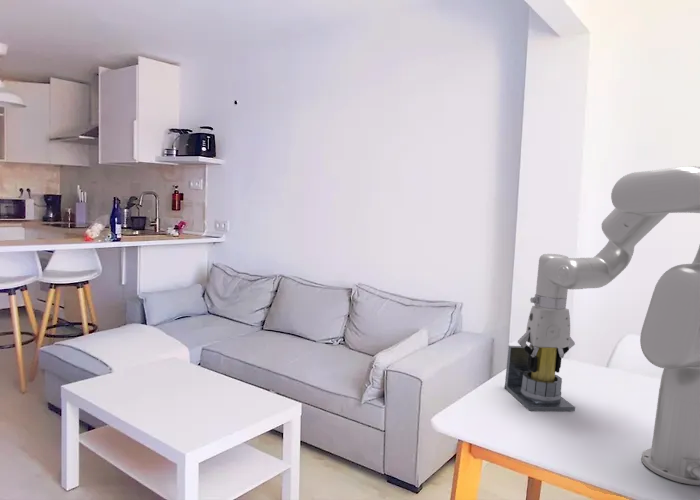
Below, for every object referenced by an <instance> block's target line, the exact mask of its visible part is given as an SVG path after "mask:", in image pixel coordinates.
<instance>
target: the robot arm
mask: <svg viewBox="0 0 700 500" xmlns="http://www.w3.org/2000/svg"><path fill="white" fill-rule="evenodd" d="M610 195H611V196H610V199H611V203H612V205H613V207H614V208H613V210H612V211H611V212H610V213H609V214H607V216H606V217H605V218H604V219H603V221H602V222H601V230H602V232H603V234H604V236H605V237H606V238H607V240H608V242H607V243H606V244H605V246H604V247H603V248H602V249H601V250H600V251H599V252H598V253H596V254H595V256H594V257H572V258H571V257H569V256H567V255H563V254H559V253H558V254H557V253H544V254H542V255H540V256H539V258H538V264H537V265H538V268H537V276H536V277H537V278H536V287H535V294H534V297H530V299H529V300H530V303H532V304H534V305H532V307H531V308H530V312H529V315H528V320H527V325H526V329H525V330H526V332H525V333H524V334H523V335H522V336H521V337H520V338H519V339H518V340H517V343H518V344H519V346H522V347H523V349H524V350H525V351H526V352H527V354H528V369H529V370H531V371H532V372H536V370H537V360H538V358H537V357H536V354H537V352H538V350H539V348H557V353H556V368H555V373H558V374H559V373H560V369H561V367H562V359H563V358H564V357H565V354H567V353H568V352H569V350H570V349H572V348H573V347H574V346H575V345H576V344H575V343H576V342H575V341H574V340H573V338H572V337H571V317H570V310H569V309H568V308H567V300H568V299H567V298H568V292H569V291H568V290H584V289H600V288H603V287H606V286H607V285H608V284H610V283H611V282H612V281H614V280H615V279H616V278H617V277H618V276H619V275H620V274H621V273H623V271H624V270H625V269H626V268H627V267H628V265H629V264H630V262H631V261H632V257H633V255H634V253H635V247H636V245H638V243H639V242H640V241H642V239H643V238H645V236H647V234H648V233H651V232H650V231H652V230H653V229H654V228H655V227H656V226H657V225H658V224H659V223H660V222H661V221H662V220H663V219H664V218H666V217H667V216H668V215H669V214H677V213H678V214H679V213H680V214H681V213H682V214H684V213H685V214H687V213H688V214H689V213H690V214H692V213H693V214H700V166H696V165H695V166H694V165H693V166H691V165H688V166H678V167H677V166H676V167H668V168H660V169H654V170H653V169H652V170H644V171H634V172H631V173H627V174H625V175H623V176H622V177H621V178H619V179H618V180H617V181H616V182H615V184H614V185H613V187H612V189H611V193H610ZM698 245H699V246H698V249H697V251H696V254H695V257H694V259H693V261H692V262H691V263H682V264H679V265H675V266H673V267H670V268H669V269H667V270H666V271H665V272H664V273H663V274H661V276H660V277H659V279H658V280H657V283H656V284H655V286H654V288H653V289H654V290H653V291H652V296H651V298H650V301H649V304H648V309H647V310H646V314H645V318H644V320H643V323H642V327H641V330H640V335H639V336H640V337H639V342H640V349H641V352H642V354H643V355H644V358H645V359H646V360H647V361H648V362H649V363H651V364H652V365H653V366H655V367H657V368H661V369H663V370H662V373H661V377H660V383H659V388H658V396H657V403H656V411H655V419H654V426H653V434H652V442H651V448H647V449H645V450H643V451H642V453H641V458H640V459H641V461H642V464H644V466H645V467H647V469H649V470H650V471H651V472H653V473H655V474H657V475H659V476H661V477H663V478H666V479H668V480H670V481H674V482H676V483H681V484H685V485H690V486H691V485H692V486H700V244H698ZM528 343H529V345H528Z"/></svg>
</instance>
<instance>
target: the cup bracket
mask: <svg viewBox="0 0 700 500" xmlns="http://www.w3.org/2000/svg"><path fill="white" fill-rule="evenodd" d="M507 350H508V351H507V359H506V368H505V369H506V370H505V371H506V372H505V381H504V389H505V390H506V391H508V393H509V394H511V395H512V396H513V397H514V398H515V400H517V401H518V402H519V403H520V404H522V405H523V407H525V408H526V409H527V410H528V411H529V412H575V410H576V406H574V405H573V404H572V403H570V401H568V400H567V399H565V398H564V397H563V396H562V383H563V381H562V380H563V378H562V377H560V376H559V375H558V374H555V382H543V381H538V380H535V379H532V378H531V373H532V371H531V370H529V369H528V354H527V352H526V351H525V350H524V349H523V347H522V346H521V345H508V348H507Z"/></svg>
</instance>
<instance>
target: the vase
mask: <svg viewBox="0 0 700 500" xmlns="http://www.w3.org/2000/svg"><path fill="white" fill-rule="evenodd" d="M556 353H557V348H539V350H538V352H537V354H536V357H537V358H538V360H537V370H536V372H532V373H531V378H532V379H535V380H538V381H543V382H555V375H556V372H555V368H556Z"/></svg>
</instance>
